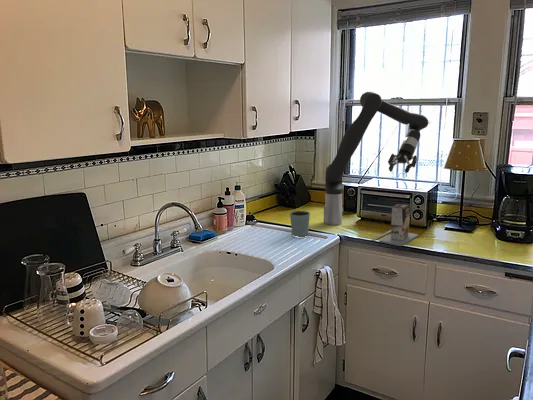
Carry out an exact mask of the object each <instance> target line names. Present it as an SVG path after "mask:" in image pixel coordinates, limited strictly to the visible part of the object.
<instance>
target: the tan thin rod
mask: <svg viewBox="0 0 533 400" xmlns="http://www.w3.org/2000/svg"><path fill="white" fill-rule="evenodd" d="M389 234H391V229H389V230H387V231H386V232H384V233H382V234H380V235H377V236H375V237H374V238H371V239H370V242H375V241H376V239H377V240H380V238H381V239H382V237H383V238H384V236H385V237H386V235H387V236H388V235H389ZM374 240H375V241H374Z"/></svg>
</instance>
